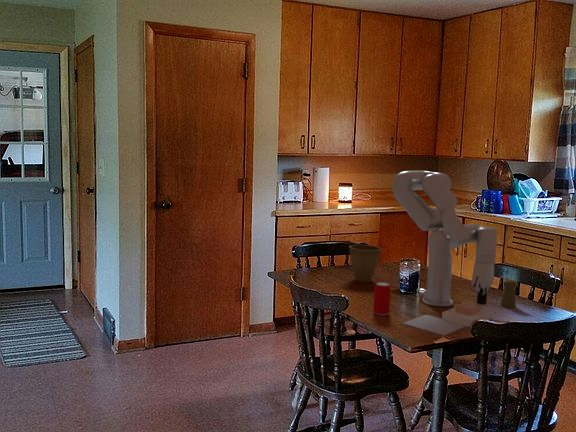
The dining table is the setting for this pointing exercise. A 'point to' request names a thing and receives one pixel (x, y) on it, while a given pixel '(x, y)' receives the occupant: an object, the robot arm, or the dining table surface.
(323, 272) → the dining table surface
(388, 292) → the beverage can
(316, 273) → the dining table surface
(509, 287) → the cork
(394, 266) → the dining table surface
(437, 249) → the robot arm
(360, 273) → the plant pot
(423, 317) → the mat
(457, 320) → the grey flat block
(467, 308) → the terracotta tile
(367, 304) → the dining table surface
